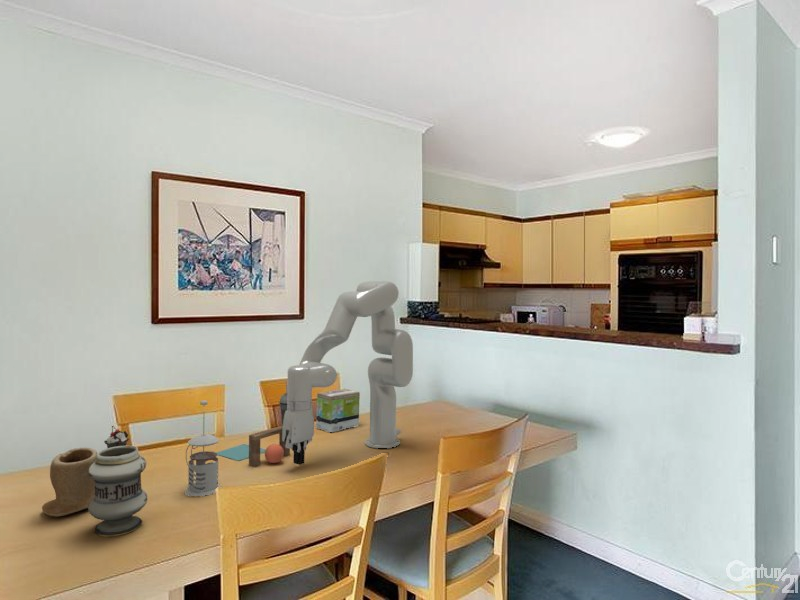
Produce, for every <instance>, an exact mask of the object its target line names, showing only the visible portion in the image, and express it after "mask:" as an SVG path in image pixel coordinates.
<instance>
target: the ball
mask: <svg viewBox="0 0 800 600" xmlns="http://www.w3.org/2000/svg"><path fill="white" fill-rule="evenodd" d="M265 449H266V451H265V453H264V457H265V460H266V461H267V462H268V463H271V464H277V463H279V462H281V461H282V459H283V458H284V457H285V456H284V450H283V448H282V447H281V446H280V445H279V443H278V444H277V443H273V444H270V445H269V446H267V447H266V448H265Z"/></svg>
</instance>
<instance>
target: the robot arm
mask: <svg viewBox="0 0 800 600" xmlns="http://www.w3.org/2000/svg"><path fill="white" fill-rule="evenodd" d="M399 295H400V294H399V289H398V287H397V285H396V284H395V283H393V282H391V281H386V280H385V281H383V280H382V281H376V280H375V281H374V280H373V281H371V280H369V281H363V282H361V283H359V284H358V285H357V288H356V291H345V292H343V293H341V294H340V295H339V296H338V298H337V299H336V302H335V304H334V306H333V308H332V311H331V314H330V316H329V317H328V320H327V323H326V325H325V328H324V330H322V332H321V333H320V334H319V335H318V336H316V337H315V339H314V340H312V342H311V343H310V344H309V345H308V346H307V348H306V349H305V351H304V353H303V356H302V357H301V360H300V362H299V364H298V365H297V364H296V365H292V366H290V367H288V369H287V391H286V393H287V411H285V415H284V421H283V431H282V441H283V442H286V445H285V447H286V448H289V449H290V450H291V451H292V452H293V460H292V462H293V464H296V465H299V466H300V465H302V464H303V465H304V464H305V453H306V449H307V445H308V444H309V443H310V442H312V440H313V438H314V435H315V420H314V419H315V416H314V409H313V408H312V405H313V404H312V403H313V398H312V397H313V396H312V395H313V391H312V390H313V388H322V389H323V388H329V387H331V386H333V385H334V383H335V382H336V380H337V377H338V374H337V373H338V372H337V370H336V368H335V367H333V366H332V365H331V364H328V363H322V360H323V359H324V357H325V355H326V354H327V353H328V352H330V350H332V349H334V348H336V347H338V346H340V345H342V344H344V343H346V342H347V341H348V340H349V337H350V335H351V332H352V330H353V328H354V325H355V323H356V321H357V318H358V317H359V318H367V317H370V319H371V348H372V350H373V351H374V352H375V353H377V354H380V355H385V356H386V355H387V356H391V357H390V358H389V357H383V356H382V357H376V358H374V359H372V360H371V361H370V363H369V365H368V367H367V377H368V381H369V382H368V383H369V389H370V390H369V392H370V394H369V395H370V400H369V404H370V406H369V410H370V411H369V437H368V438H367V439H366V440H365V445H366V447H369V448H372V449H378V448H387V449H393V448H392V447H394V448H397V447H398V445H399V444H401V441H400V439H399V438H397V436H398V435H400V434H402V429H401V428H397V392H396V389H395V388H405V387H407V386H408V385H410V382H411V381H412V380H413V371H414V363H413V362H414V345H413V344H414V343H413V339H412V336H411V335H410V333H409V332H408V331H406V330H403V329H401V328H400V329H399V328H396V322H395V321H396V320H395V312H394V309H393V307H392V306H393V305H394V304H395V303H396V302H397V301H398V298H399ZM396 446H397V447H396Z"/></svg>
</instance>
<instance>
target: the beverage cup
mask: <svg viewBox="0 0 800 600" xmlns="http://www.w3.org/2000/svg"><path fill="white" fill-rule="evenodd" d="M287 385H288V380H285V389H286V392H285V393H283V394H282V395H281V396H280V398H279V407H280V415H281V418H280V419H281V426H283V421H284V415H285V411H287Z"/></svg>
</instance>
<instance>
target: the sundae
mask: <svg viewBox="0 0 800 600" xmlns="http://www.w3.org/2000/svg"><path fill="white" fill-rule="evenodd" d="M110 428H112V430H111V432H110V435H109V436H108V437H107V438H106V440H104V444H105V445H106V449H107V448H111V447H117V446H127V442H129V441H130V437H129V433H127V431H126V430H125V431H122V430H119V429H116V428H115V426H114V425H112V426H111V427H110ZM114 428H115V431H114Z"/></svg>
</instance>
